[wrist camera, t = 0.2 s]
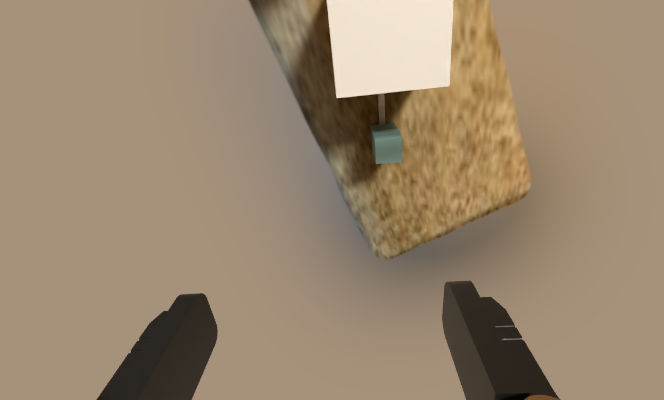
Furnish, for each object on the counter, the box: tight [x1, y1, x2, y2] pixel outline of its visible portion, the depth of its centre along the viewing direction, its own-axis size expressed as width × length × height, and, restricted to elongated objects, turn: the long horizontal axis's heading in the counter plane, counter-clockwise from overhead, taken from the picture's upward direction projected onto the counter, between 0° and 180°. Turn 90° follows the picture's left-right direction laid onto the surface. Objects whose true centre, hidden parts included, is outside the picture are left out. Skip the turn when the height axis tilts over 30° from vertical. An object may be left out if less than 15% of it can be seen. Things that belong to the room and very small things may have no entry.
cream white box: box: [327, 0, 453, 98], centre depth 28 cm, size 9×9×10 cm
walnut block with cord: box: [371, 93, 402, 164], centre depth 30 cm, size 15×5×8 cm, turn 6°
